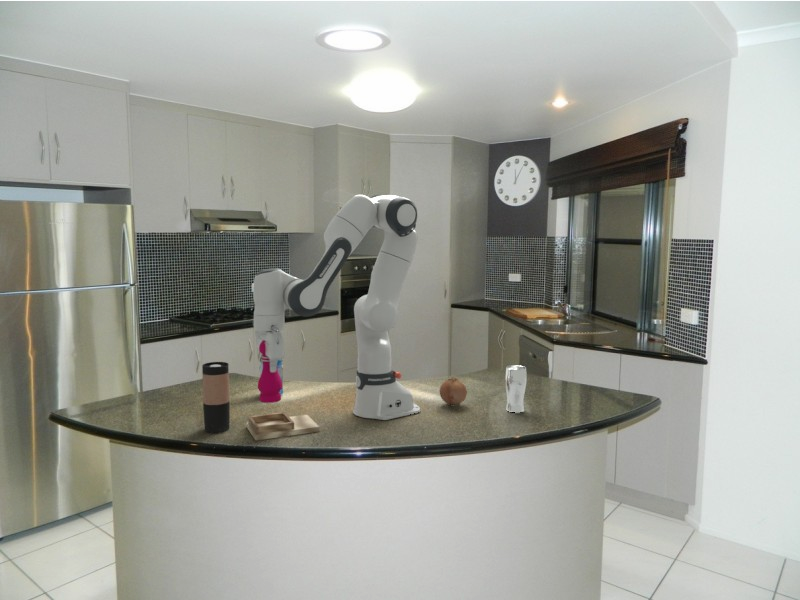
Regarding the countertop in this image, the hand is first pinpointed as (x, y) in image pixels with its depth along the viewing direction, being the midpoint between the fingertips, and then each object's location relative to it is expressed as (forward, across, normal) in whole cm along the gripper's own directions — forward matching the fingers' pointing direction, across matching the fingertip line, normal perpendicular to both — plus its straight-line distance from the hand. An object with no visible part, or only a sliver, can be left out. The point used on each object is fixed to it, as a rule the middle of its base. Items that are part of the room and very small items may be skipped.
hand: (270, 369), depth 173 cm
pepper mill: (+10, 0, 0) cm, 10 cm away
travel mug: (+19, +8, +14) cm, 25 cm away
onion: (+19, 0, -63) cm, 66 cm away
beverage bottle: (+19, +39, -9) cm, 44 cm away
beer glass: (+19, -14, -79) cm, 83 cm away
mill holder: (+19, 0, -3) cm, 19 cm away
